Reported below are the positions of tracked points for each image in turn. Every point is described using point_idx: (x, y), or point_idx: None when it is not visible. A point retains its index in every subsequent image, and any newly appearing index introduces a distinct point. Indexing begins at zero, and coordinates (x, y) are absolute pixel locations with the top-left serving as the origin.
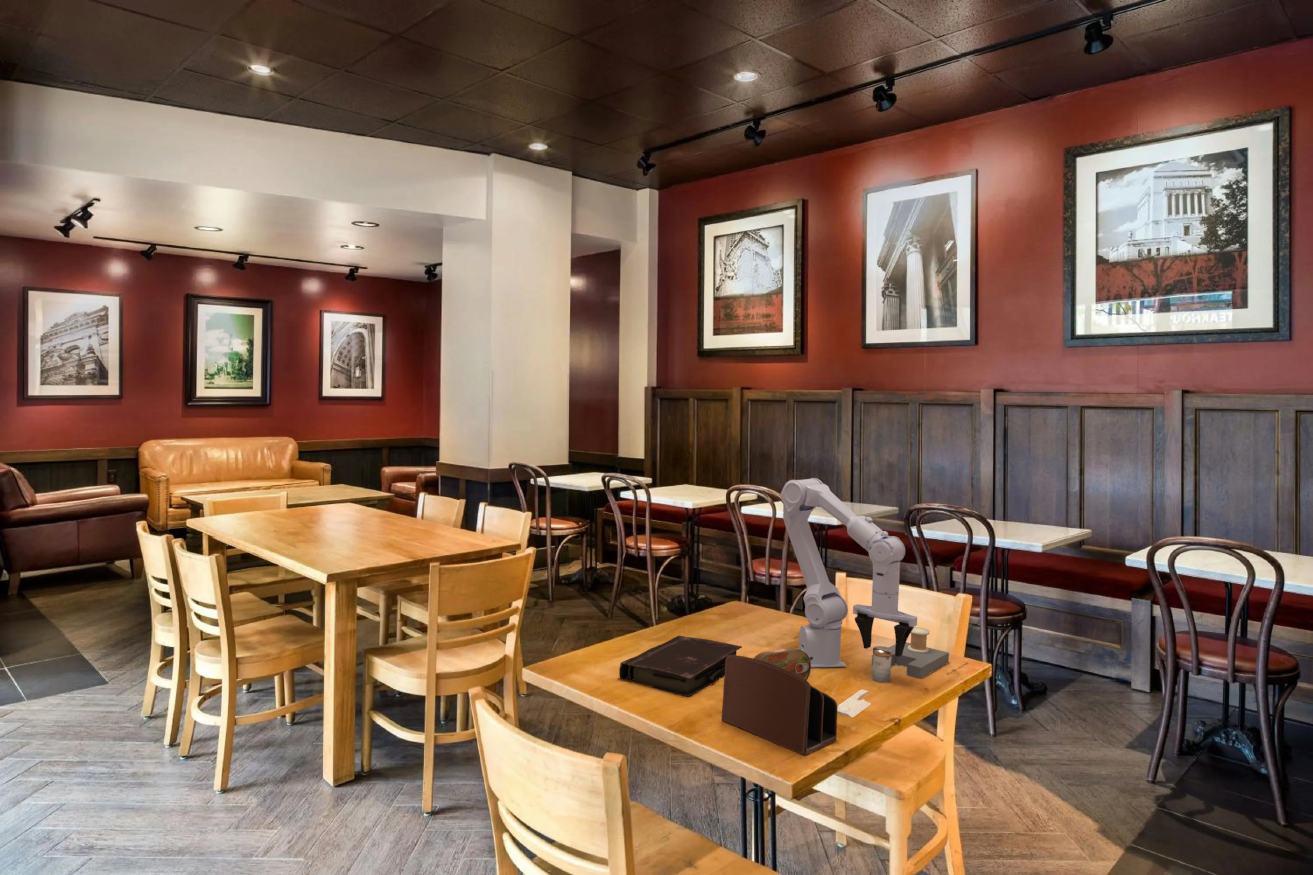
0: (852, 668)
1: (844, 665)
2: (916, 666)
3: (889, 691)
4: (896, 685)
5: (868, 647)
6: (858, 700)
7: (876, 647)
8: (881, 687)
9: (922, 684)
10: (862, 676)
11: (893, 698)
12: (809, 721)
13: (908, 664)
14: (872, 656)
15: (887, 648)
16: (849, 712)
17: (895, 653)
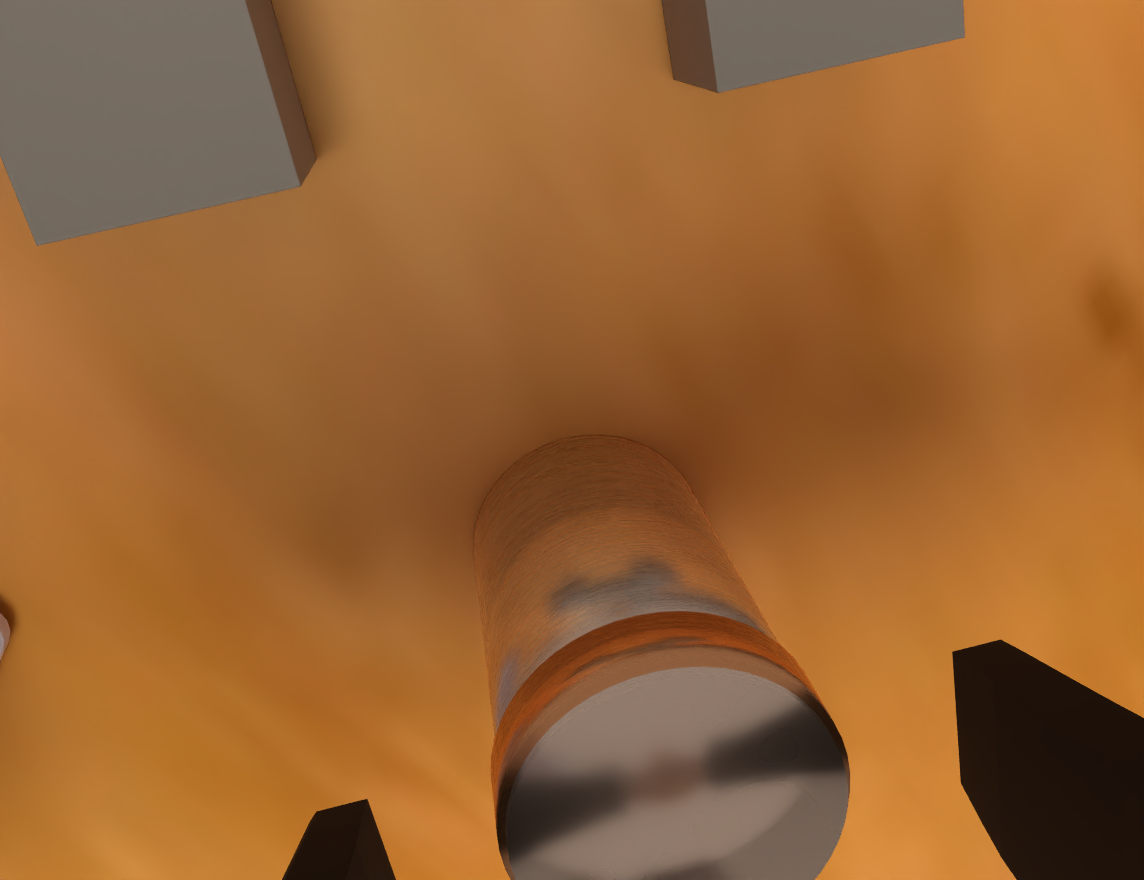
0: (82, 556)
1: (1, 649)
2: (880, 47)
3: (873, 727)
4: (821, 533)
5: (391, 868)
6: None
7: (556, 854)
8: None
9: (1012, 217)
10: (389, 656)
11: None
12: None
13: (740, 84)
14: (53, 238)
15: (717, 728)
16: None
17: (990, 828)
